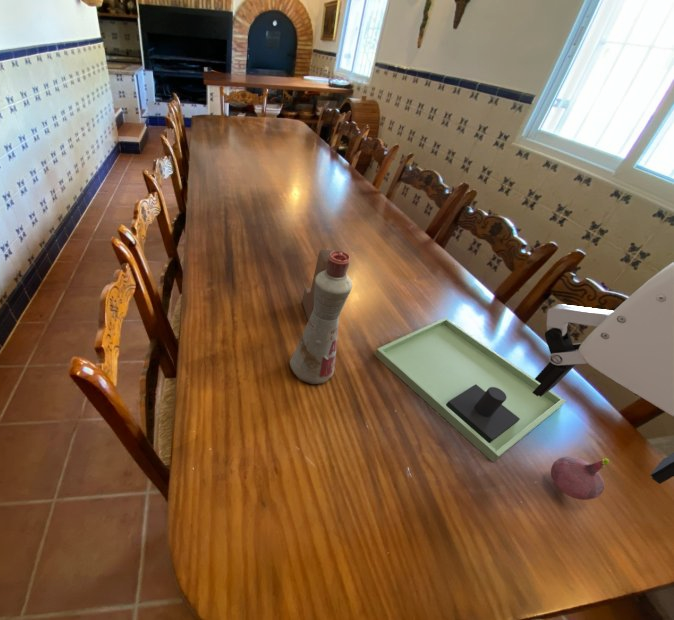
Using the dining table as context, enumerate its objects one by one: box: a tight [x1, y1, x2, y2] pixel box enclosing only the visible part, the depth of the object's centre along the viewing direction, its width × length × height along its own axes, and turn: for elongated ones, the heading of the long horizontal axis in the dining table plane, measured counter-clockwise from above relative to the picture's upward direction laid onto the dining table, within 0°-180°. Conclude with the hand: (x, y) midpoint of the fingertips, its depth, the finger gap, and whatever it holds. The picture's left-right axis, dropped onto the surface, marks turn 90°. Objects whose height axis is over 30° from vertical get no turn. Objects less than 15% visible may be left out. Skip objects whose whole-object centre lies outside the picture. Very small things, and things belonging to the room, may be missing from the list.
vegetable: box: [550, 456, 610, 501], centre depth 55 cm, size 6×6×10 cm
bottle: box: [289, 250, 353, 385], centre depth 65 cm, size 9×9×28 cm
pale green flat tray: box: [374, 316, 567, 463], centre depth 74 cm, size 28×24×2 cm
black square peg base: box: [446, 384, 520, 443], centre depth 65 cm, size 9×9×6 cm
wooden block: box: [301, 249, 339, 322], centre depth 82 cm, size 9×4×18 cm, turn 5°
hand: (595, 427), depth 33 cm, fingers open, 9 cm apart
